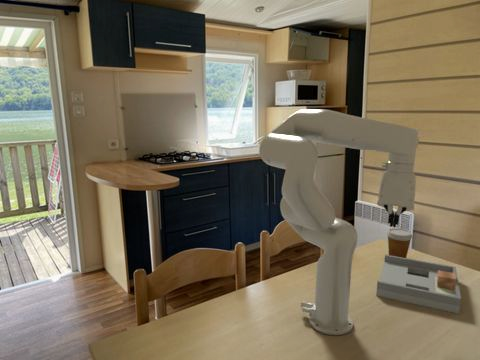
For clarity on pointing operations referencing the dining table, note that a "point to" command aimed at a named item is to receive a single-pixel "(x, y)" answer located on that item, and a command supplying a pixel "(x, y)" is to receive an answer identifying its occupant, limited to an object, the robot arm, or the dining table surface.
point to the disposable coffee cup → (398, 242)
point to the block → (446, 280)
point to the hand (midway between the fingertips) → (392, 225)
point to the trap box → (417, 284)
